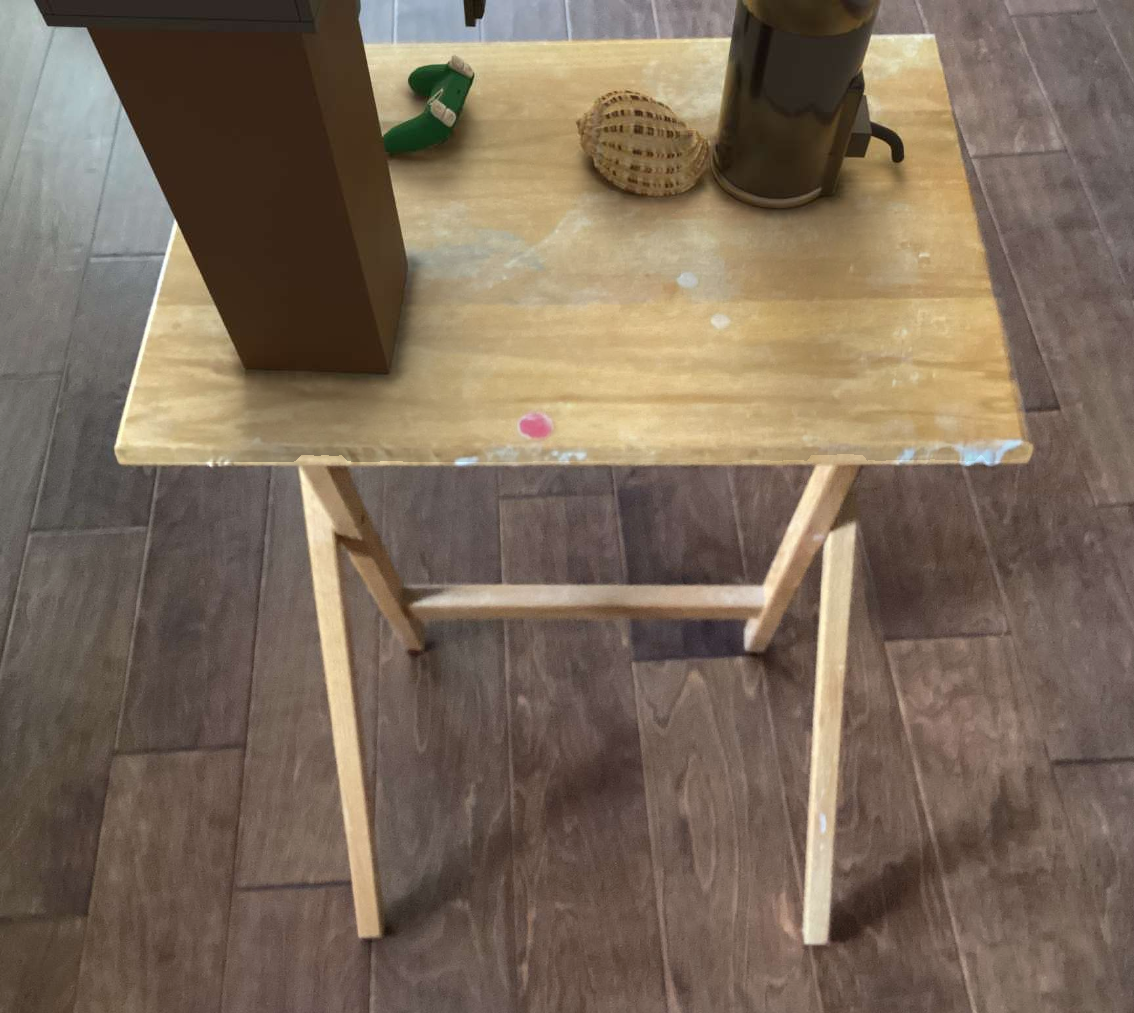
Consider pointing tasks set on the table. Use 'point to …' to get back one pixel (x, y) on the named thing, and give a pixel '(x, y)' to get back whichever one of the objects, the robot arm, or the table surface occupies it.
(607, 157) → the seashell
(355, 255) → the bin
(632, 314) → the table surface
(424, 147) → the gaming controller
